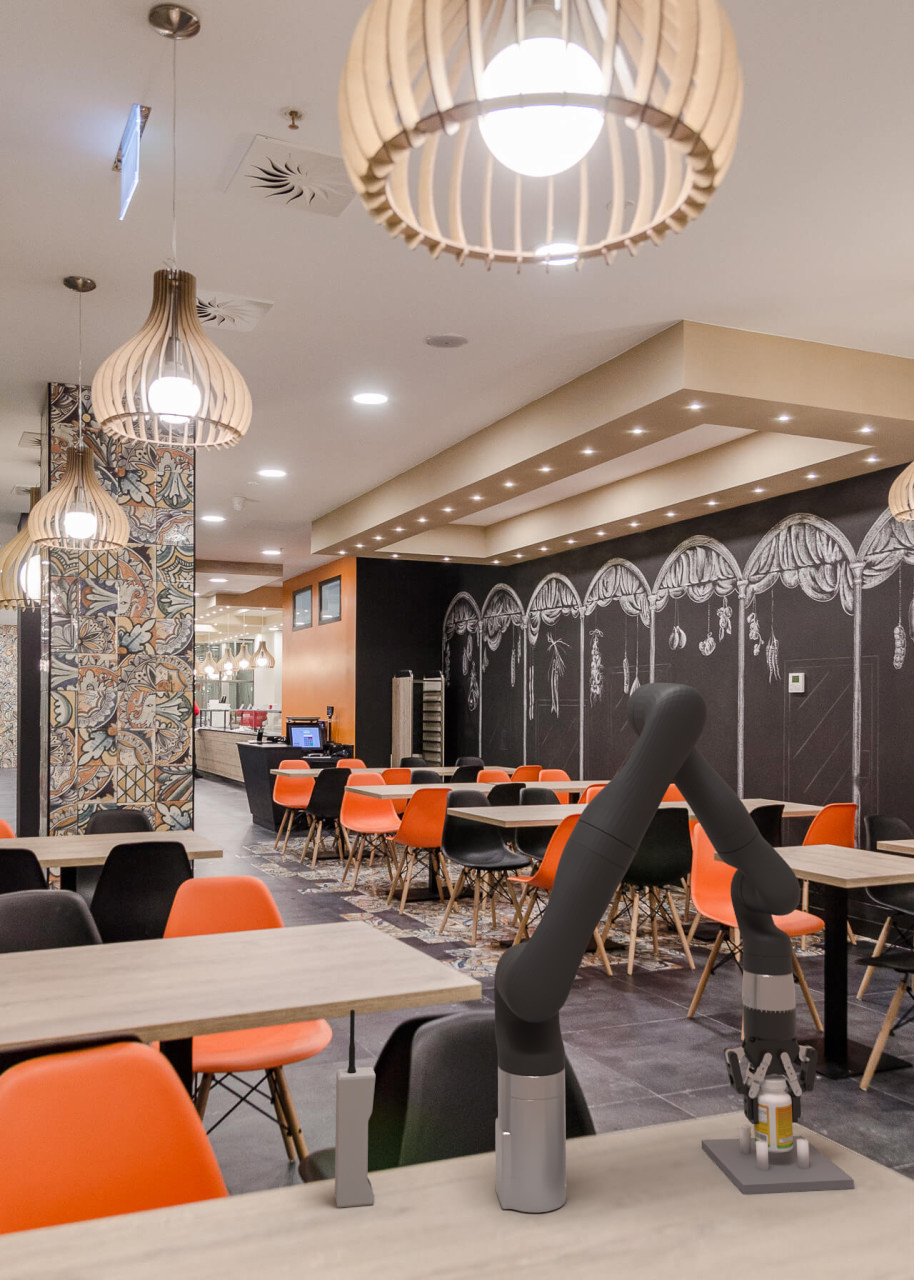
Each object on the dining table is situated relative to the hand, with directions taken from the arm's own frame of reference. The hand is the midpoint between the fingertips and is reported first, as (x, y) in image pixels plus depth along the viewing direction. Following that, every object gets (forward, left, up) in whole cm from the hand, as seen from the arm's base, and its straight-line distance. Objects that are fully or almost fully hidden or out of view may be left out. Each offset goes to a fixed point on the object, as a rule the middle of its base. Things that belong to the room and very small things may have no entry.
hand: (772, 1121), depth 146 cm
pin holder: (0, 0, -7) cm, 7 cm away
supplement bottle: (0, 0, -4) cm, 4 cm away
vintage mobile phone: (-61, -4, -7) cm, 61 cm away
